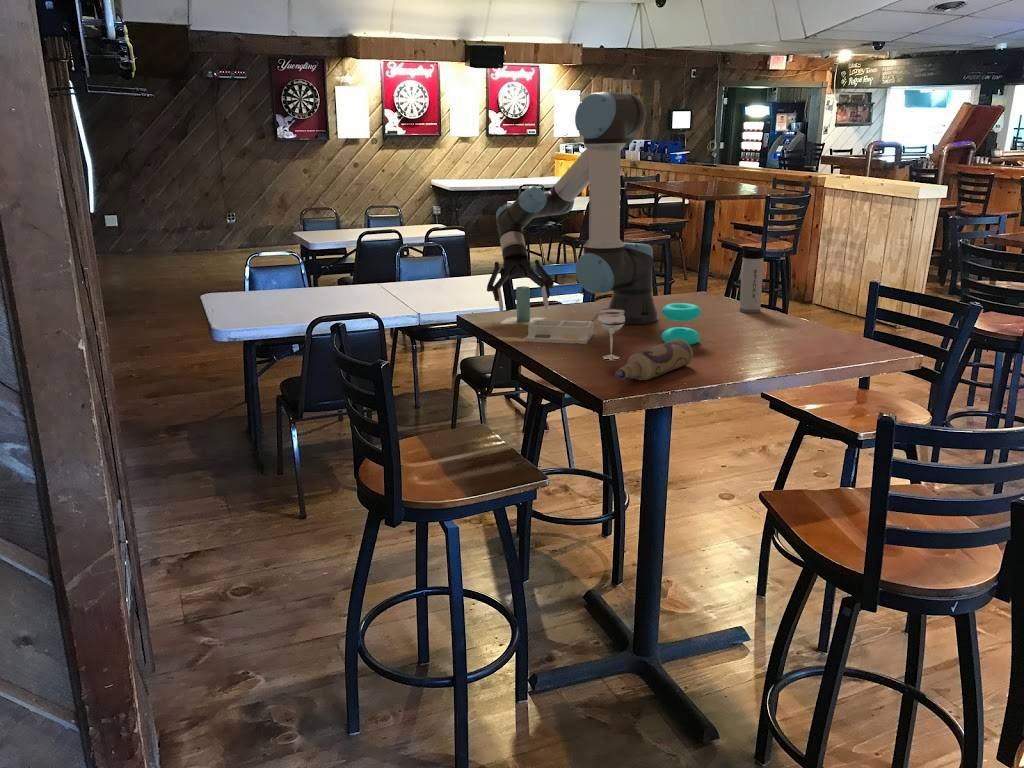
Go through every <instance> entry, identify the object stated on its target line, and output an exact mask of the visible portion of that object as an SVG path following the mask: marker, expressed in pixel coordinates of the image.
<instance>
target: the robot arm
mask: <svg viewBox="0 0 1024 768" xmlns="http://www.w3.org/2000/svg"><path fill="white" fill-rule="evenodd" d="M644 104H645V103H644V102H643V101H642V100H641V99H640V98H639V97H638V96H637V95H635V94H633V93H630V92H613V91H599V92H592V93H590V94H588V95H586V96H584V98H583V99H582V100H581V101H580V102H579V104H578V105H577V107H576V111H575V115H574V123H575V128H576V130H577V131H578V133H579V134H580V135H581V136H582V137H583V146H584V148H585V150H584V151H582V152H581V154H580V155H579V157H578V158H577V159H575V161H574V163H572V165H571V166H570V167H569V168H568V169H567V170H566V171H565V173H563V175H562V176H561V177H560V179H559V180H558V181H557V182H556V183H555V184H554V185H553V186H552V187H551V188H550V189H549V190H547V191H543V190H542V188H540V187H536V186H535V185H530V186H528V187H527V188H526V189H524V191H522V192H521V193H520V194H519V196H518V197H517V198H516V200H515V201H513V202H512V204H504V205H503V206H500V207H499V208H498V209H497V211H496V213H495V218H496V226H497V232H498V236H499V242H500V248H501V253H502V254H501V255H502V261H503V263H499V261H494V265H493V267H494V268H493V271H492V273H491V276H490V278H489V280H488V282H487V286H486V291H487V292H488V293H489V292H491V293H492V294H493V299H494V302H497V303H498V307H499V313H502V312H504V302H503V295H502V290H501V288H502V287H503V285H504V284H505V283H506V282H507V280H509V279H510V277H513V278H516V277H517V278H518V277H521V278H522V277H526V279H530V280H531V281H532V282H534V284H536V285H537V286H538V287H540V288H541V296H542V301H543V307H544V310H547V309H548V308H549V305H550V303H549V299H550V296H551V292H550V289H553V287H554V284H555V281H554V280H553V278H551V276H550V275H549V274H548V273H547V271H546V270H545V269H544V268H543V266H542V265H541V263H540V260H539V259H534V261H530V260H529V257H528V256H529V255H528V252H527V245H526V242H525V236H524V228H525V227H526V226H527V225H528V224H529V223H530V222H531V221H532V220H533V219H535V218H541V217H543V218H544V217H548V216H549V217H550V216H561V215H564V214H567V213H569V212H570V211H572V210H573V208H574V204H575V200H576V198H577V197H578V196H579V194H580V193H582V191H583V190H584V189H585V188H586V187H587V186H588V188H589V189H588V222H589V223H588V237H589V238H588V239H587V241H585V243H584V244H583V254H582V255H581V256H580V257H579V258H578V260H577V261H576V264H575V275H576V278H577V281H578V283H579V284H580V285H581V286H582V288H583V289H584V291H585V290H586V291H587V292H589V293H590V294H607V293H609V292H611V291H612V294H611V298H610V301H609V304H608V308H607V309H609V308H615V309H622V310H625V313H624V316H625V323H624V325H646V324H651V323H655V322H656V321H657V320H658V311H657V307H656V304H655V302H654V297H653V294H652V293H653V266H654V265H653V264H654V255H653V254H654V249H653V246H652V245H651V244H648V243H647V244H646V243H639V242H637V243H635V242H625V241H622V240H621V239H620V235H621V233H620V231H621V230H620V228H621V227H620V226H621V224H620V223H621V221H620V220H621V151H622V149H623V148H628V147H629V146H630V144H631V143H633V141H635V139H636V138H637V137H638V136H639V134H640V133H641V132H642V130H643V128H644V126H645V123H646V118H647V110H646V108H645V105H644ZM502 269H503V270H504V271H505V272H504V273H503V274H502V276H501V277H500V278H499V279H498V280H497V282H496V283H495V281H496V279H497V276H498V275H499V274H498V273H499V272H500V271H501V270H502ZM533 270H535V271H533ZM535 272H536V273H535Z"/></svg>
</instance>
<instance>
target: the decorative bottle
mask: <svg viewBox="0 0 1024 768" xmlns="http://www.w3.org/2000/svg"><path fill="white" fill-rule="evenodd" d="M693 359H694V350H693V348H692V345H689V344H688V343H687V342H686V341H684V340H681V339H674V340H671V341H669V342H666V343H665V342H663V343H661V344H658V345H655V346H652V347H649V348H646V349H645V350H641V351H638V352H635V353H633V354H631V355H630V356H629V357H628V359H627V361H626V362H627V363H626V364H625V365H624V366H621V367H620V368H618V370H616V371H615V373H614V377H615V378H616V379H618V380H628V379H629V380H637V379H641V380H645V381H648V380H652V379H654V378H657V377H659V376H662V375H663V374H665V373H668V372H671V371H673V370H676V369H679V368H681V367H685V366H687V365H689V364H691V363H692V361H693ZM653 377H654V378H653ZM636 378H637V379H636Z"/></svg>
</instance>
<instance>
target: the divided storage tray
mask: <svg viewBox="0 0 1024 768" xmlns="http://www.w3.org/2000/svg"><path fill="white" fill-rule="evenodd" d="M527 326H528V329H527V332H528V334H527V335H526V336H525V338H524V342H525V341H530V343H532V342H531V341H533V343H550V342H552V343H554V342H555V343H554V344H575V343H579V344H580V345H581V344H582V345H587V344H588V342H589V341H590V340H591V338H592V336H593V335H594V321H588V320H587V321H585V320H558V319H557V320H556V319H555V320H553V319H545V320H534V321H533V322H532V323H531V324H530V325H527ZM552 343H551V344H552ZM579 344H578V345H579Z"/></svg>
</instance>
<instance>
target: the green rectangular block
mask: <svg viewBox="0 0 1024 768" xmlns="http://www.w3.org/2000/svg"><path fill="white" fill-rule="evenodd" d="M530 290H531V288H530V286H524V285H523V286H516V288H515V292H516V293H515V294H516V295H515V296H516V297H515V298H516V299H515V300H516V317H517V321H518V322H529V321H530V317H531V302H530V301H531V293H530Z"/></svg>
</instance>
